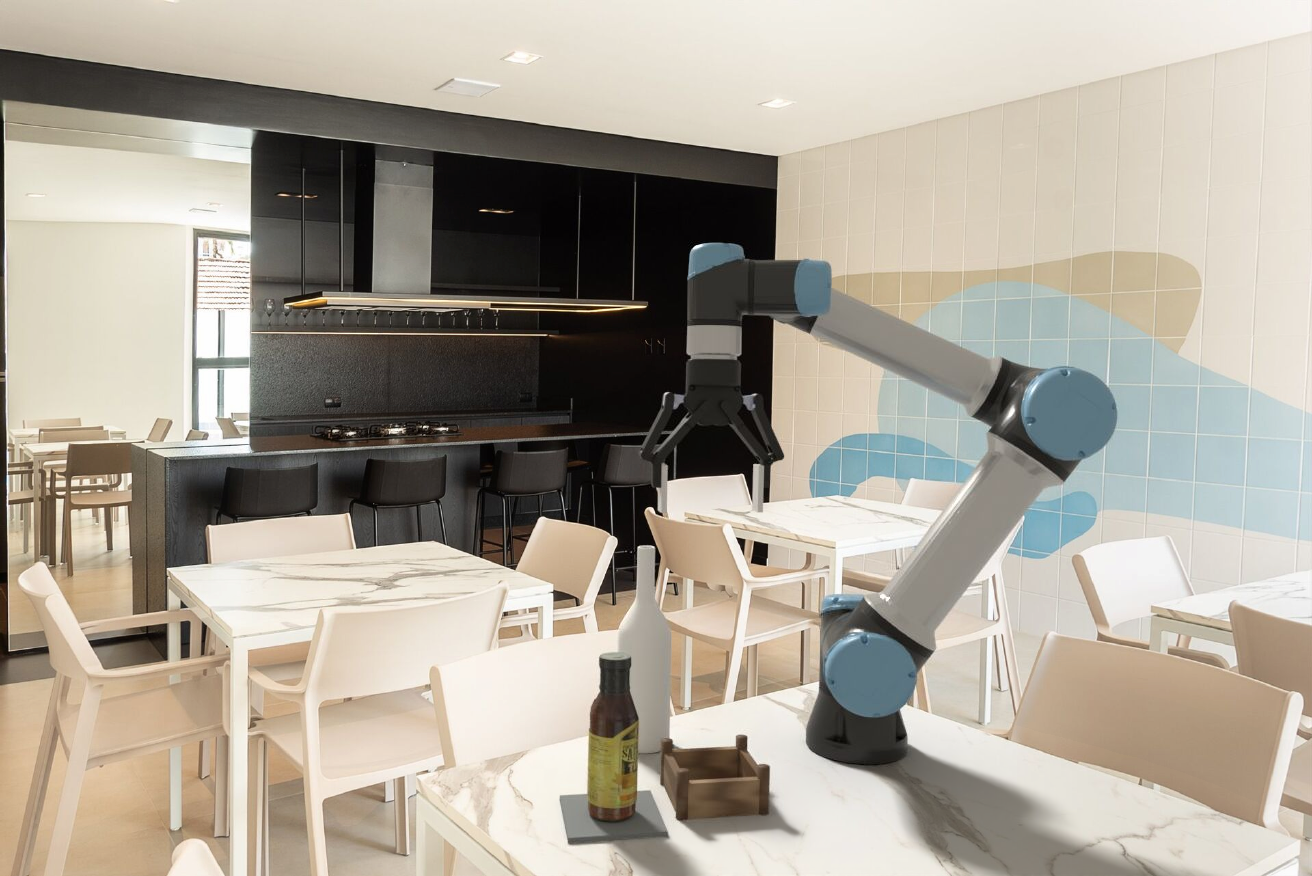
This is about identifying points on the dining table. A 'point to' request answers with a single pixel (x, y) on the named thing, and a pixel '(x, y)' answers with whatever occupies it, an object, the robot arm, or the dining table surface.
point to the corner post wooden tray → (714, 781)
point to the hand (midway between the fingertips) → (710, 511)
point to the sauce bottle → (613, 742)
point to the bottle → (648, 656)
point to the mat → (592, 829)
